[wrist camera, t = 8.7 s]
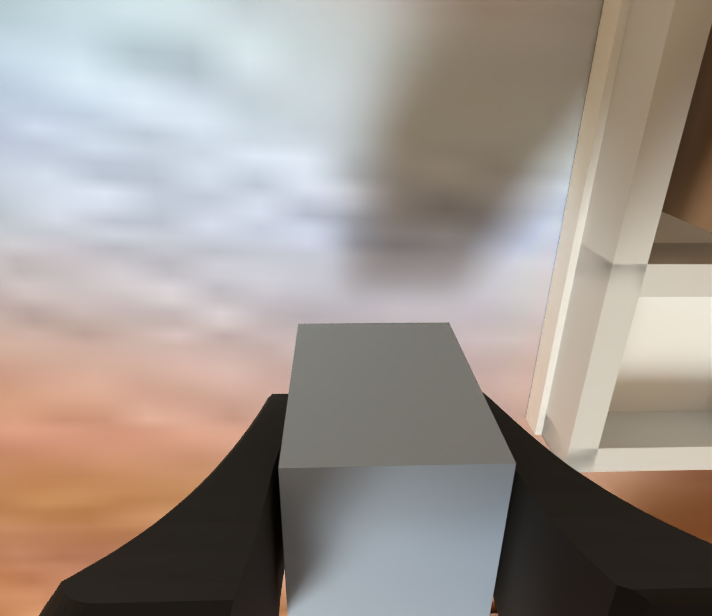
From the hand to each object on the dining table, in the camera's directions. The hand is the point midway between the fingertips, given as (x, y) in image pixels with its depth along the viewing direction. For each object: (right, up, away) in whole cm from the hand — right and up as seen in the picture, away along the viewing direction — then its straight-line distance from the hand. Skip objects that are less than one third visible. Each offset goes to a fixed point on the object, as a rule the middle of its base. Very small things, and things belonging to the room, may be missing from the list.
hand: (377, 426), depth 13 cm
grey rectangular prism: (0, +1, +1) cm, 2 cm away
